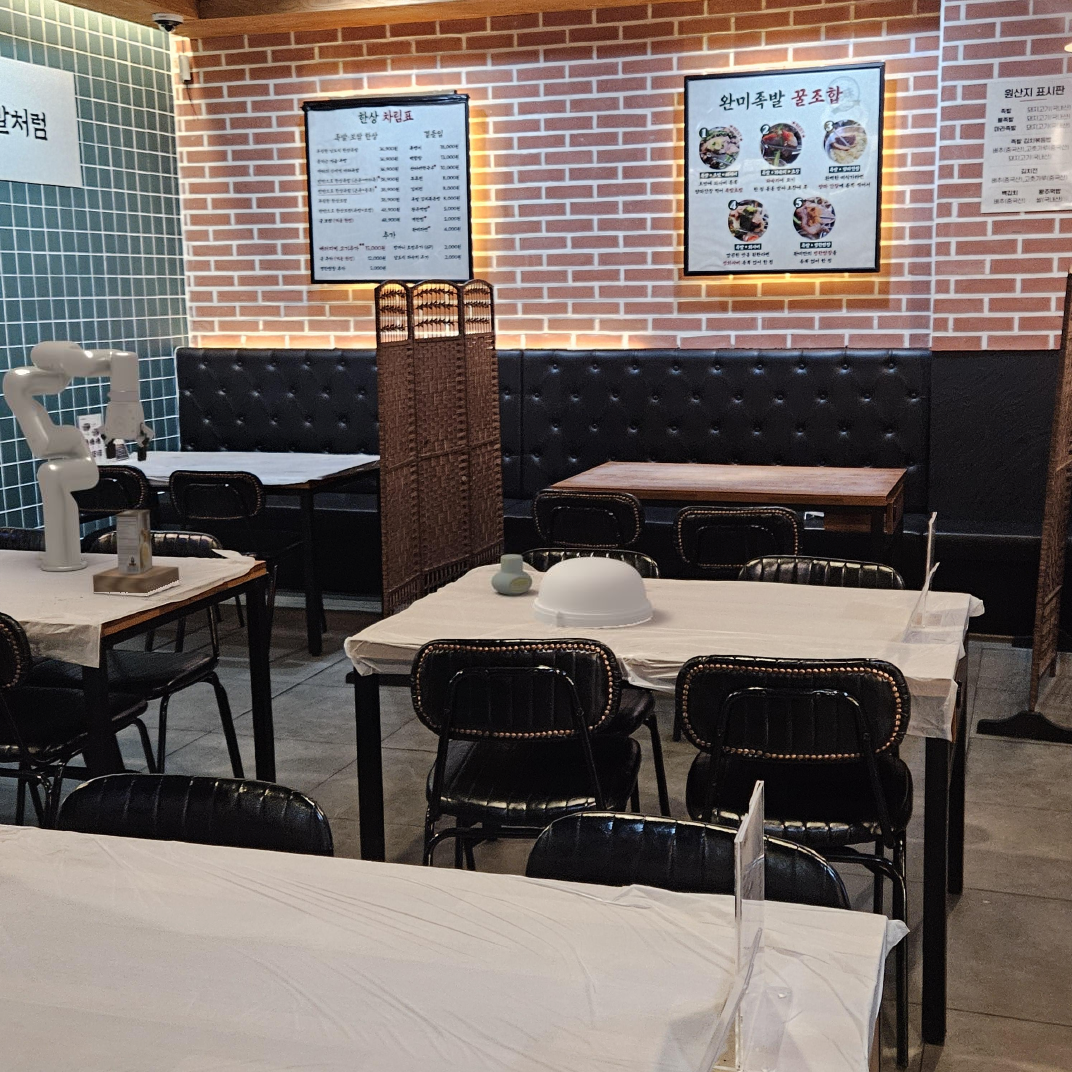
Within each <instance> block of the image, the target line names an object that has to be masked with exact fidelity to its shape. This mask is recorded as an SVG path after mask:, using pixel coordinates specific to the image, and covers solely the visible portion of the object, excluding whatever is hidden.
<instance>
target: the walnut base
mask: <svg viewBox="0 0 1072 1072" xmlns="http://www.w3.org/2000/svg"><path fill="white" fill-rule="evenodd" d="M152 566H153V567H152V568H150V569H149V570H147V571H145V572H144V573H142V574H119V570H118V566H117V567H114V568H111V569H107V570H104V571H101V572H98V573H95V574H92V584H93V585H92V586H93V593H94V592H109V593H110V592H120V593H121V592H125V593H126V592H128V593H148V592H150V591H153V590H156V589H158V588H160V587H163V586H165V585H168V584H170V583H172V582H175V581H177V580H179V581H180V573H179V572H180V570H179V569H180V568H179V566H166V565H152Z"/></svg>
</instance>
